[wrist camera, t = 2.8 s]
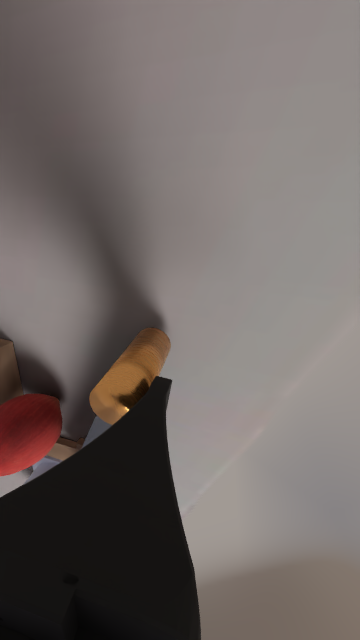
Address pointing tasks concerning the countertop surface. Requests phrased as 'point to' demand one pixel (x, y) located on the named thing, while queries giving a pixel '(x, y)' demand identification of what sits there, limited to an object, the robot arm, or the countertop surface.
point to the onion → (27, 430)
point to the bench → (5, 384)
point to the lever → (127, 379)
